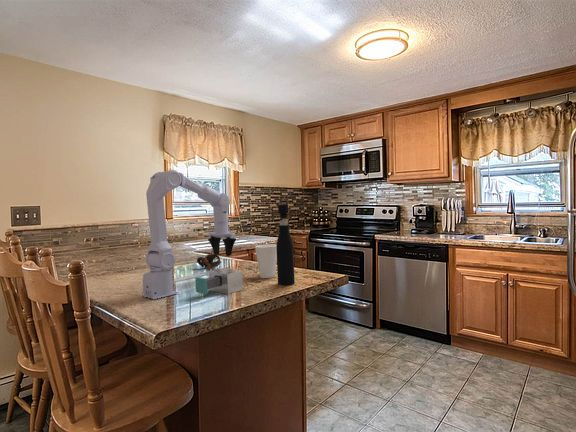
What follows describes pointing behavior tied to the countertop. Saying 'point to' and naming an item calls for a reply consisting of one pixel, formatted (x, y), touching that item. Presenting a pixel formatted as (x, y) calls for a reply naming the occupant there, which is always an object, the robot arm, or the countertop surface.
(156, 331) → the countertop surface
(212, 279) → the shaft
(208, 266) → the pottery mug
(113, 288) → the countertop surface
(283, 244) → the wine bottle
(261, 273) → the foam cup
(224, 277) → the block
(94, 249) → the countertop surface
